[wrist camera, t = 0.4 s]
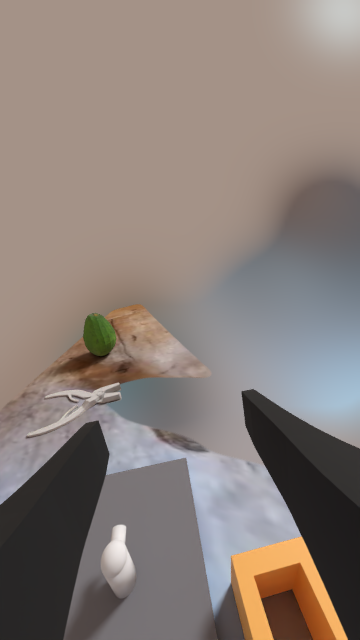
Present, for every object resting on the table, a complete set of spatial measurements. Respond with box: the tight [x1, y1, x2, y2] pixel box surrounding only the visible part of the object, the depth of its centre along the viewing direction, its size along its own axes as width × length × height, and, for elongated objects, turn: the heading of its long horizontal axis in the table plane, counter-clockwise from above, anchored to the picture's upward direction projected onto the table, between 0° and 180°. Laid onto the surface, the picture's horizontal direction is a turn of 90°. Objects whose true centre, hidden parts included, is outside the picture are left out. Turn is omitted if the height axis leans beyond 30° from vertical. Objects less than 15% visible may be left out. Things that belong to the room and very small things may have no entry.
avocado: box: [83, 313, 116, 356], centre depth 53 cm, size 8×8×12 cm
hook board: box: [63, 458, 218, 640], centre depth 17 cm, size 18×14×6 cm
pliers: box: [27, 383, 121, 437], centre depth 39 cm, size 10×2×15 cm
